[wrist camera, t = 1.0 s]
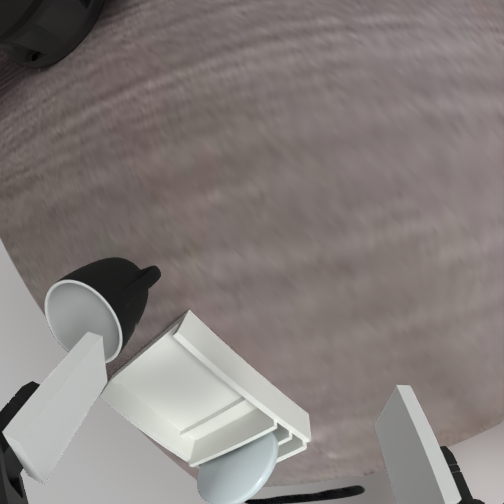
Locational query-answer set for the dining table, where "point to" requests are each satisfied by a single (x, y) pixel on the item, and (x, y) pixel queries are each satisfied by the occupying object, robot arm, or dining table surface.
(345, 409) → the dining table surface
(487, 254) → the dining table surface
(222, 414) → the dish rack
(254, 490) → the plate in rack
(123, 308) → the mug
